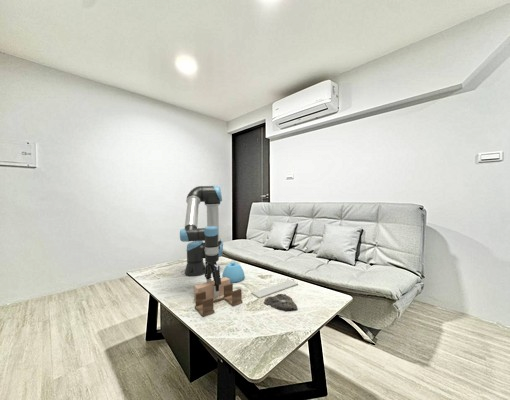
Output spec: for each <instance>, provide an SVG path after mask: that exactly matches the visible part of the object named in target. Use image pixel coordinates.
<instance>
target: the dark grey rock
mask: <svg viewBox="0 0 510 400" xmlns="http://www.w3.org/2000/svg"><path fill="white" fill-rule="evenodd" d="M263 303H264V305H265V306H270V307H271V308H273V309H276V310H279V311H284V312H294V311H298V309H299V308H298V306H297V304H296V303H295V301H294V300H293V298H292V297H291V296H289V295H287V294H286V293H278V294H276V295H273V296H272V295H269V296H266V298H265V299H264V301H263Z"/></svg>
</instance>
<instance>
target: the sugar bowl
mask: <svg viewBox="0 0 510 400" xmlns="http://www.w3.org/2000/svg"><path fill="white" fill-rule="evenodd" d="M242 267H243V266H241V264H239V263H237V262H235V261H231V262H230V263H227V265H225V268H224V269H223V272H222V275H221V276H222V277H221V278H223V277H227V278H229V279H230V284H231V283H232V284H234V283H238V282H241V281H242V280H244V278H245V271H244V269H243V268H242Z"/></svg>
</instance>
